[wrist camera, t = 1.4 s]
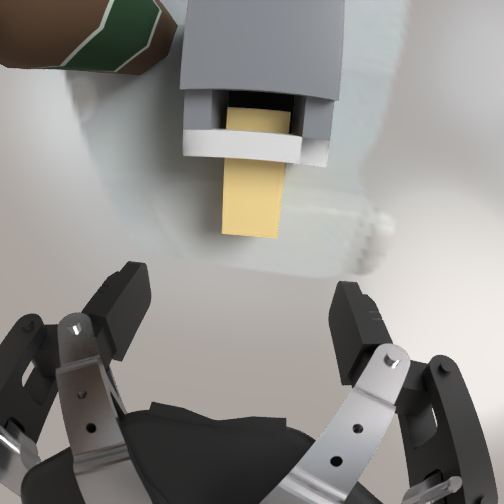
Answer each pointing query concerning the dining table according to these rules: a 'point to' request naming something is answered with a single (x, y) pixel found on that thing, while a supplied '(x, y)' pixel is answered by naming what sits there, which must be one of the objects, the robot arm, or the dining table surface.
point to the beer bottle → (85, 34)
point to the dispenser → (261, 74)
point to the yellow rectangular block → (253, 178)
